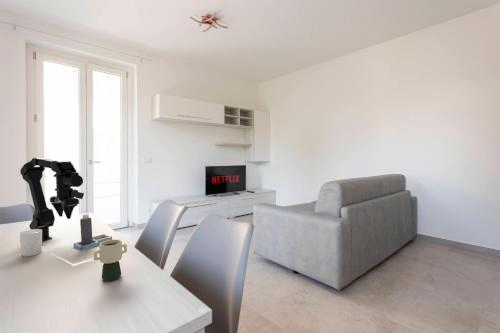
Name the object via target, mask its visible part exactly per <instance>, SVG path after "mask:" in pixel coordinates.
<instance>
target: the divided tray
mask: <svg viewBox="0 0 500 333" xmlns="http://www.w3.org/2000/svg"><path fill="white" fill-rule="evenodd" d="M92 239H93V243H91V244H87V245H84V246H82V244H81V241H78V242H73V248H75V249H77V250H80V251H83V250H87V249H91V248H94V247H99V244H100V243H101V242H104V241H107V240H113V236H111V235H109V234H105V233H103V234H98V235H95V236H92Z"/></svg>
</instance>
